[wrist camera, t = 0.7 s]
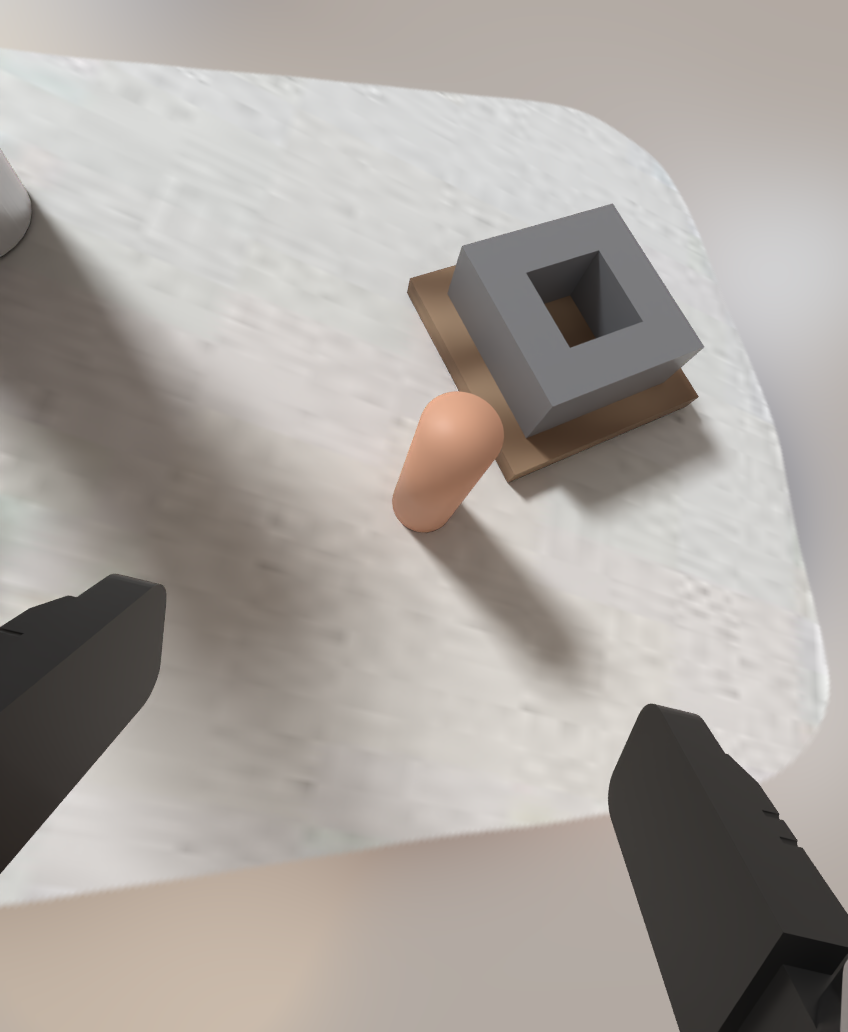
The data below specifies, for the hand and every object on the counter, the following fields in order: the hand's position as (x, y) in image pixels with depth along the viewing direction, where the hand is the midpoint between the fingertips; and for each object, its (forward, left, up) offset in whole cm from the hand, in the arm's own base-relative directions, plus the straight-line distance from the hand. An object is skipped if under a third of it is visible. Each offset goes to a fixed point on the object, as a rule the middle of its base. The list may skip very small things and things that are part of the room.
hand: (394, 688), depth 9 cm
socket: (-15, +23, -22) cm, 35 cm away
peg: (-8, +9, -24) cm, 27 cm away
